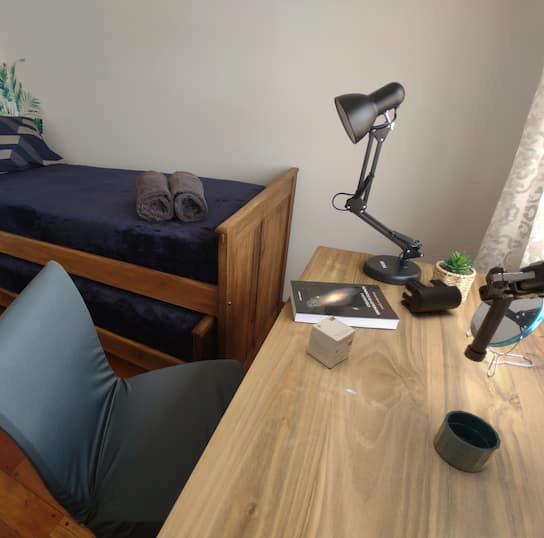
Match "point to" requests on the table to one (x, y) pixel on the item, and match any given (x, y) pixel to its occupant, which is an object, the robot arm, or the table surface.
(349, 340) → the beige stone block
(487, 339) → the stick
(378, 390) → the table surface
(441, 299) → the end cap
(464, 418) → the green round cup
